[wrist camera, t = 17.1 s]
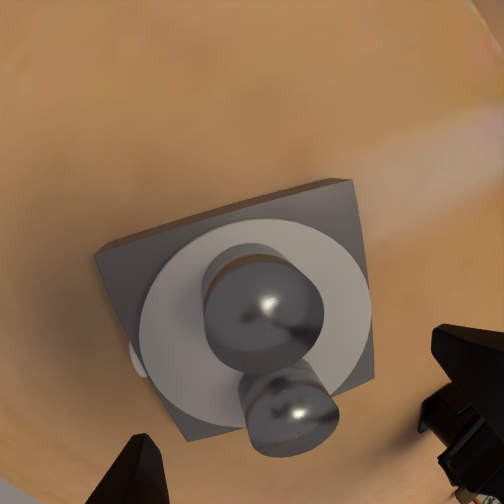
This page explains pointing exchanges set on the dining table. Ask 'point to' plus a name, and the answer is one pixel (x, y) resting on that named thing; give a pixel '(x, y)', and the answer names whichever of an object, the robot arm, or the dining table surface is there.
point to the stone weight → (465, 496)
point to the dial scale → (190, 301)
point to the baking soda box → (485, 500)
